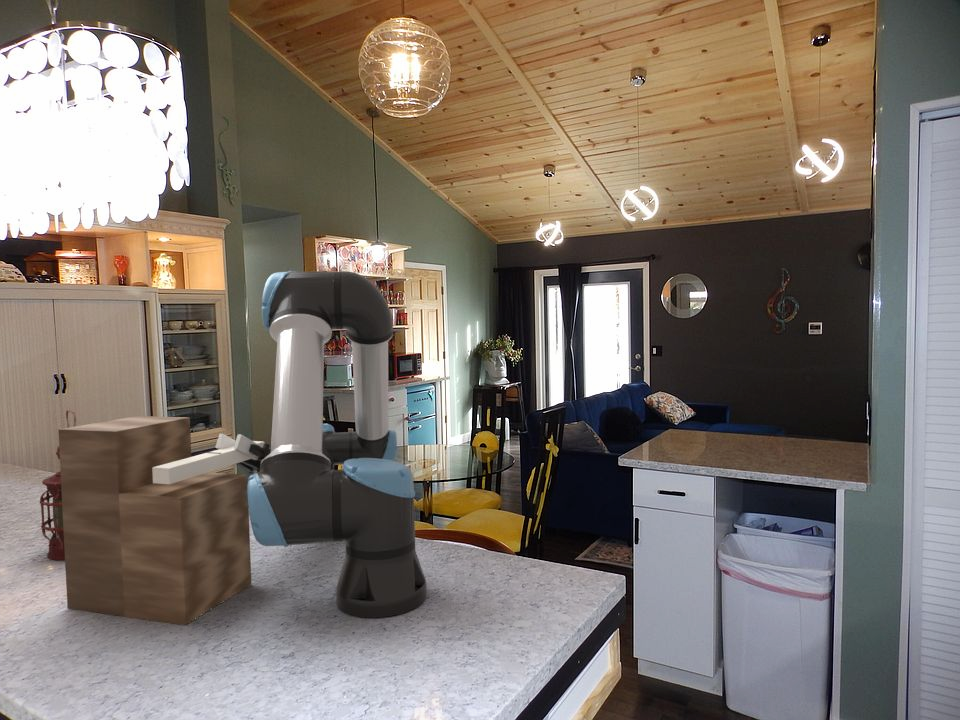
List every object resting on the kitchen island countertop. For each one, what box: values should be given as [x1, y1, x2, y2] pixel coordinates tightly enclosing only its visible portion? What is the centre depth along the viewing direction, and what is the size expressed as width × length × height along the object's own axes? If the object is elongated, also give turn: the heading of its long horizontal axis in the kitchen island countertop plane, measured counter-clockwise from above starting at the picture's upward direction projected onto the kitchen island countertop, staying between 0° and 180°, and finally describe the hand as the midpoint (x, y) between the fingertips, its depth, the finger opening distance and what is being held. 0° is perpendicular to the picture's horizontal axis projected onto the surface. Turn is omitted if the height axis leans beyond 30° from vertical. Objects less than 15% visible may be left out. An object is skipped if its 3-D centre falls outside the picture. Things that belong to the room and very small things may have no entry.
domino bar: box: [152, 440, 266, 484], centre depth 109 cm, size 24×3×3 cm, turn 163°
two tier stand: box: [57, 415, 252, 626], centre depth 107 cm, size 16×24×30 cm, turn 73°
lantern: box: [39, 409, 77, 561], centre depth 130 cm, size 12×12×30 cm
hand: (228, 441), depth 112 cm, fingers closed on domino bar, 3 cm apart
